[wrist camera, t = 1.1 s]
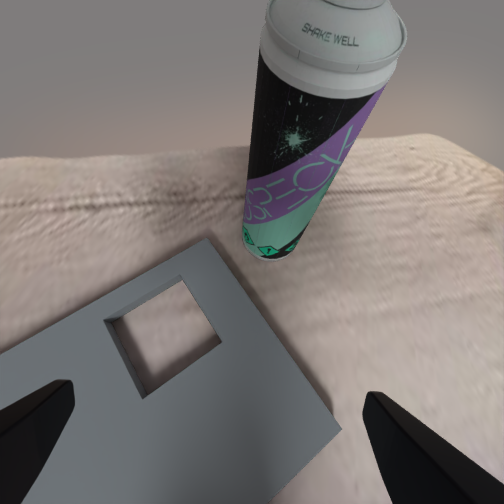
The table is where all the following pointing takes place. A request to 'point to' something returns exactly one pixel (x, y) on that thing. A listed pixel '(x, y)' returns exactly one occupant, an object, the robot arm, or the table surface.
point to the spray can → (311, 108)
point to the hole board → (172, 402)
